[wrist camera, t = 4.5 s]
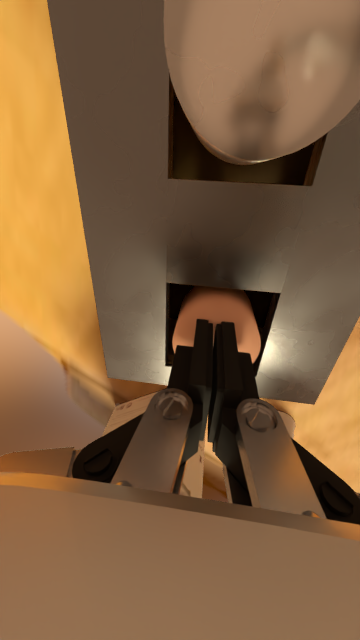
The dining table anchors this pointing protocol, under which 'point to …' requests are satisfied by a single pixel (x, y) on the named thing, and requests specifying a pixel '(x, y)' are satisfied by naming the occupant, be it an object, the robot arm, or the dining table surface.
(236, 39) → the middle knob
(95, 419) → the dining table surface
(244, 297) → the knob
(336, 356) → the knob housing
